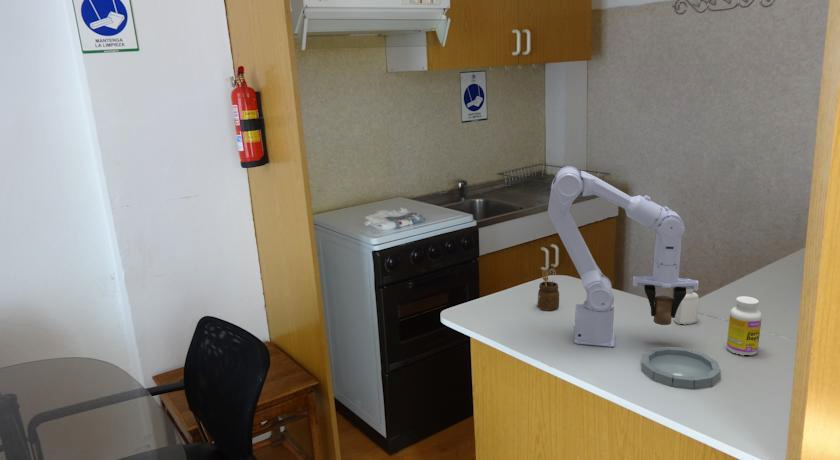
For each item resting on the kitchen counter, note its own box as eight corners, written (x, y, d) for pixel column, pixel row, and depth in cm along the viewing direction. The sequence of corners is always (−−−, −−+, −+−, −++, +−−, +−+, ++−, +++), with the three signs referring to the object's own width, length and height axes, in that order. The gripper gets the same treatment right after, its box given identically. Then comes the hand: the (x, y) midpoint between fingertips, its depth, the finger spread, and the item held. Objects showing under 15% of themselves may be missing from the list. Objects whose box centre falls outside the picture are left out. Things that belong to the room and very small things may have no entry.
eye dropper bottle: (698, 326, 166) (701, 282, 163) (675, 324, 167) (678, 281, 164) (696, 319, 170) (699, 277, 167) (673, 318, 171) (676, 275, 168)
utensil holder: (562, 305, 182) (563, 265, 179) (554, 313, 177) (555, 272, 174) (542, 302, 186) (543, 262, 183) (534, 309, 180) (534, 269, 177)
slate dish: (643, 383, 138) (643, 375, 137) (640, 351, 152) (640, 344, 152) (724, 392, 133) (725, 383, 133) (713, 358, 148) (714, 350, 147)
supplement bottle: (745, 359, 147) (750, 307, 144) (720, 348, 153) (725, 298, 150) (764, 352, 150) (769, 301, 147) (738, 342, 156) (743, 292, 153)
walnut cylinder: (654, 324, 154) (655, 300, 152) (653, 318, 158) (654, 295, 156) (671, 325, 153) (673, 302, 151) (670, 319, 156) (672, 296, 155)
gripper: (634, 265, 150) (631, 319, 153) (702, 269, 146) (697, 324, 149) (634, 256, 156) (631, 308, 160) (698, 259, 152) (693, 313, 156)
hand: (662, 315), depth 155 cm, fingers closed on walnut cylinder, 4 cm apart
